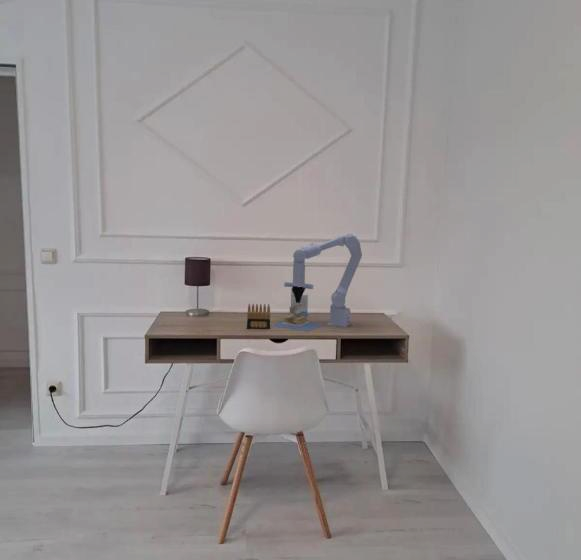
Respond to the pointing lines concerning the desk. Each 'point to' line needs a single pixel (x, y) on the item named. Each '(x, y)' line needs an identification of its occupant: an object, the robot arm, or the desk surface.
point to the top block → (295, 311)
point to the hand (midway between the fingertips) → (298, 302)
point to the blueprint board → (298, 326)
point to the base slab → (295, 320)
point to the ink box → (302, 303)
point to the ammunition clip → (258, 317)
